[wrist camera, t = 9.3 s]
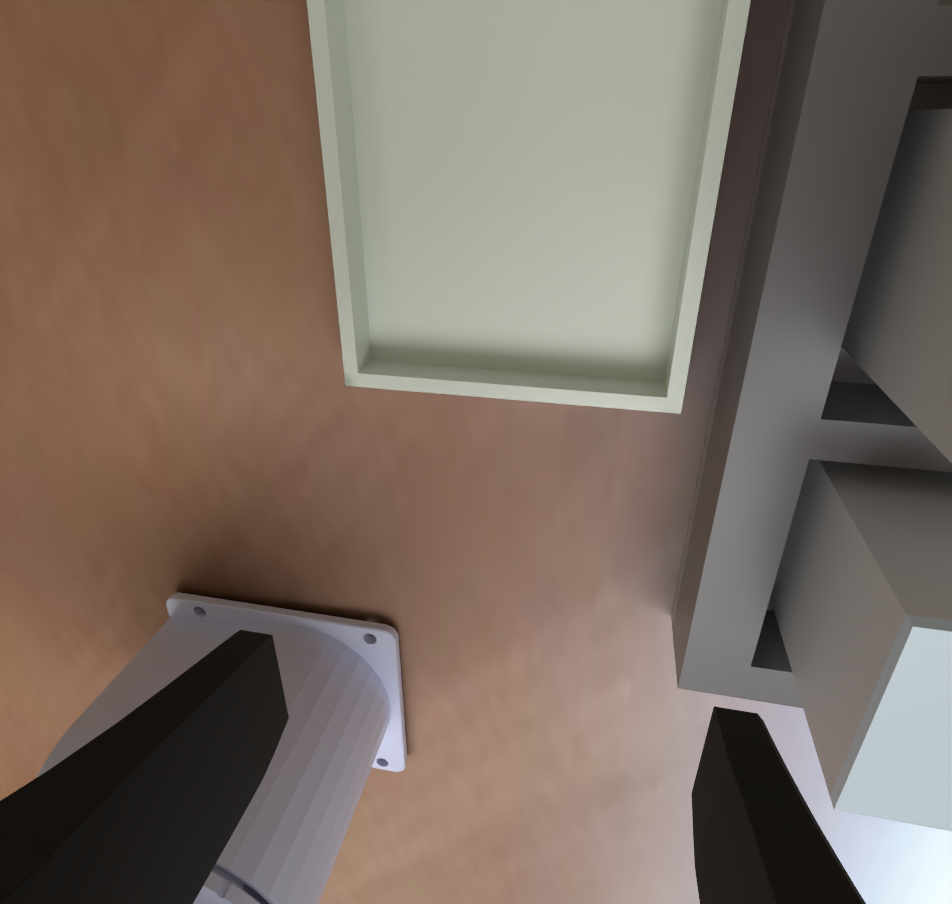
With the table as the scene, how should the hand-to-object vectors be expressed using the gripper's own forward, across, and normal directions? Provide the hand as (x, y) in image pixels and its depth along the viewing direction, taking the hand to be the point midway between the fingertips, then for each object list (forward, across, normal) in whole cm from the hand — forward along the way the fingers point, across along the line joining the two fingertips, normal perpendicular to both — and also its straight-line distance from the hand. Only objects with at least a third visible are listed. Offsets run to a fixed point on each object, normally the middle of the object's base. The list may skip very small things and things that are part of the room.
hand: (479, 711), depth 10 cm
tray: (+10, +1, -8) cm, 13 cm away
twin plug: (+9, -9, +2) cm, 13 cm away
